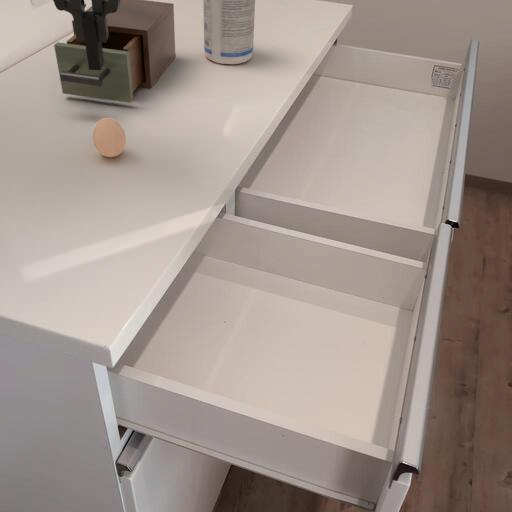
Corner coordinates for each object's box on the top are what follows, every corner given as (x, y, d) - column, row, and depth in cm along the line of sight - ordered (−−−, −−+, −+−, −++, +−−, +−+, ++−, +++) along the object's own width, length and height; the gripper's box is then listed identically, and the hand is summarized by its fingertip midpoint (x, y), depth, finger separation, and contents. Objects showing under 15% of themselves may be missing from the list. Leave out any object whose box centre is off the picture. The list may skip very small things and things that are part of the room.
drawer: (120, 117, 84) (114, 66, 79) (48, 106, 85) (38, 56, 80) (157, 70, 98) (154, 25, 92) (95, 62, 99) (89, 17, 94)
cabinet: (151, 88, 94) (147, 30, 88) (80, 78, 95) (71, 20, 89) (175, 57, 105) (173, 3, 99) (112, 48, 106) (106, -5, 100)
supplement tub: (259, 53, 109) (265, -27, 100) (240, 70, 102) (244, -15, 93) (216, 44, 112) (217, -35, 102) (194, 59, 105) (193, -24, 95)
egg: (132, 159, 77) (128, 122, 73) (102, 166, 75) (96, 129, 71) (120, 144, 79) (116, 108, 76) (90, 151, 78) (85, 115, 74)
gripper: (-10, -158, 53) (39, 75, 69) (125, -149, 54) (143, 79, 70) (12, -164, 59) (52, 53, 74) (134, -156, 60) (149, 57, 75)
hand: (96, 65), depth 72 cm, fingers closed
